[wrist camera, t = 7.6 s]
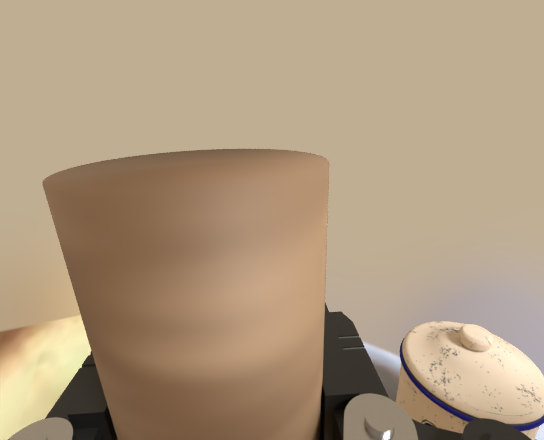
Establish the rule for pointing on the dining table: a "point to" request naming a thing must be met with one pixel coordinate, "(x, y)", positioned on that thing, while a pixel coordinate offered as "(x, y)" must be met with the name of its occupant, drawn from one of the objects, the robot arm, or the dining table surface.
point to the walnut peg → (201, 289)
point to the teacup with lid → (468, 379)
